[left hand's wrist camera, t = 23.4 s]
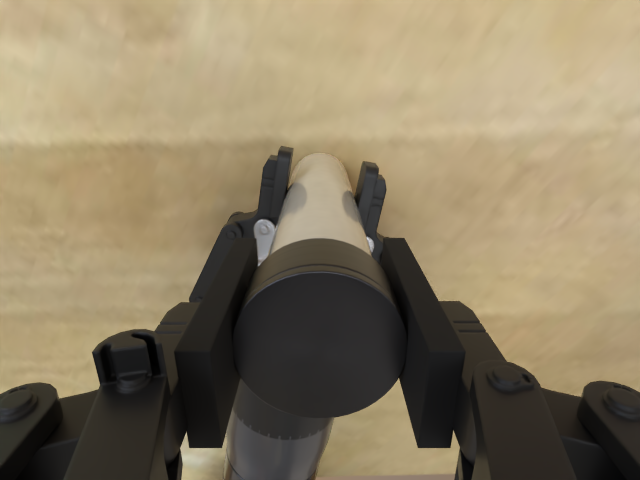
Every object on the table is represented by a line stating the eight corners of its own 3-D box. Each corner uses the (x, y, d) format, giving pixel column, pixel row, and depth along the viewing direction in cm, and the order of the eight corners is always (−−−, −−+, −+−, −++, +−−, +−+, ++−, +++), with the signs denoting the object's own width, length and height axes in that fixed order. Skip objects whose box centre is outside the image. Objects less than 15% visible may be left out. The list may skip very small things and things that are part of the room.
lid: (309, 206, 11) (307, 234, 9) (424, 297, 12) (445, 341, 10) (217, 313, 13) (196, 360, 11) (328, 387, 14) (329, 444, 12)
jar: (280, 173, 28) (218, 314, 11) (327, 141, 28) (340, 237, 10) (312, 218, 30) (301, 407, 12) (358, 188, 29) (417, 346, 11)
